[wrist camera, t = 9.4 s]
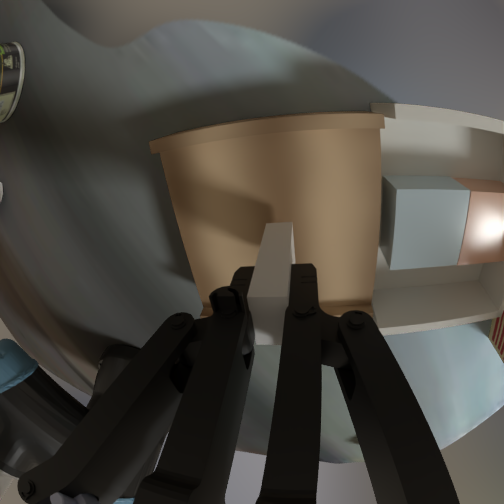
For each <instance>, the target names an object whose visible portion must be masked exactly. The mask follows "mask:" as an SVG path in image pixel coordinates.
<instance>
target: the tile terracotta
mask: <svg viewBox="0 0 504 504" xmlns="http://www.w3.org/2000/svg"><path fill="white" fill-rule="evenodd" d="M453 179H454V180H456V181H457V182H459V183H460V184H462V185H463V186H465V187H466V188H468V189H469V190H470V198H469V205H468V212H467V219H466V224H465V230H464V235H463V240H462V245H461V249H460V254H459V258H458V262H457V266H458V265H469V264H479V263H489V262H499V261H504V183H503V182H501V181H495V180H483V179H469V178H453Z"/></svg>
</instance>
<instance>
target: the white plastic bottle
mask: <svg viewBox="0 0 504 504" xmlns="http://www.w3.org/2000/svg"><path fill="white" fill-rule="evenodd" d="M2 196H3V186H2V183H1V182H0V203H1V200H2Z"/></svg>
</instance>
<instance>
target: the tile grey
mask: <svg viewBox="0 0 504 504" xmlns="http://www.w3.org/2000/svg"><path fill="white" fill-rule="evenodd" d="M469 198H470V190H469V189H468V188H466V187H465V186H463V185H462V184H460V183H459V182H457V181H456V180H454V179H453V178H451V177H448V176H407V175H391V176H383V198H382V224H381V239H380V249H381V251H382V253H383V256H384V258H385V260H386V262H387V265H388V267H389V269H390V270H400V269H413V268H426V267H438V266H450V265H457V262H458V258H459V254H460V249H461V245H462V240H463V235H464V230H465V224H466V219H467V212H468V205H469Z"/></svg>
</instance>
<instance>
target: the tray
mask: <svg viewBox="0 0 504 504" xmlns="http://www.w3.org/2000/svg"><path fill="white" fill-rule="evenodd" d="M370 111H371V112H374V113H381V114H384V120H385V129H380V139H381V214H380V231H379V244H378V255H377V265H376V274H375V282H374V289H373V296H372V303H371V305H372V309H373V313H374V314H373V320H374V322H375V323H376V325H377V327H378V328H379V330H380V332H381V334H382V335H392V334H402V333H410V332H418V331H426V330H433V329H439V328H446V327H452V326H458V325H463V324H469V323H474V322H479V321H484V320H488V319H493V318H497V317H501V315H502V313H503V311H504V261H499V262H489V263H479V264H469V265H458V266H457V265H450V266H438V267H426V268H413V269H400V270H390V269H389V267H388V265H387V262H386V260H385V258H384V256H383V253H382V251H381V249H380V239H381V224H382V198H383V176H391V175H407V176H448V177H451V178H469V179H483V180H495V181H501V182H503V183H504V121H502V120H499V119H495V118H490V117H486V116H482V115H477V114H473V113H468V112H462V111H456V110H450V109H444V108H436V107H429V106H420V105H410V104H397V103H370Z"/></svg>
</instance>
